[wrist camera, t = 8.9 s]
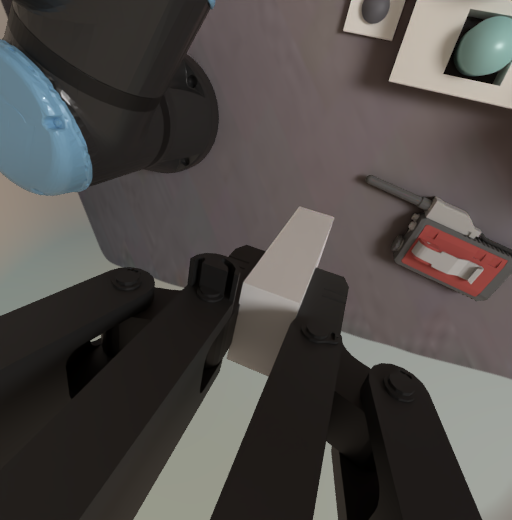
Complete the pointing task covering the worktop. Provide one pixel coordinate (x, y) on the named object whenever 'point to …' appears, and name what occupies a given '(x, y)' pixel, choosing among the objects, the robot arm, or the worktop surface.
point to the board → (448, 50)
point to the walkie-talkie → (448, 247)
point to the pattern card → (374, 18)
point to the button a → (485, 47)
